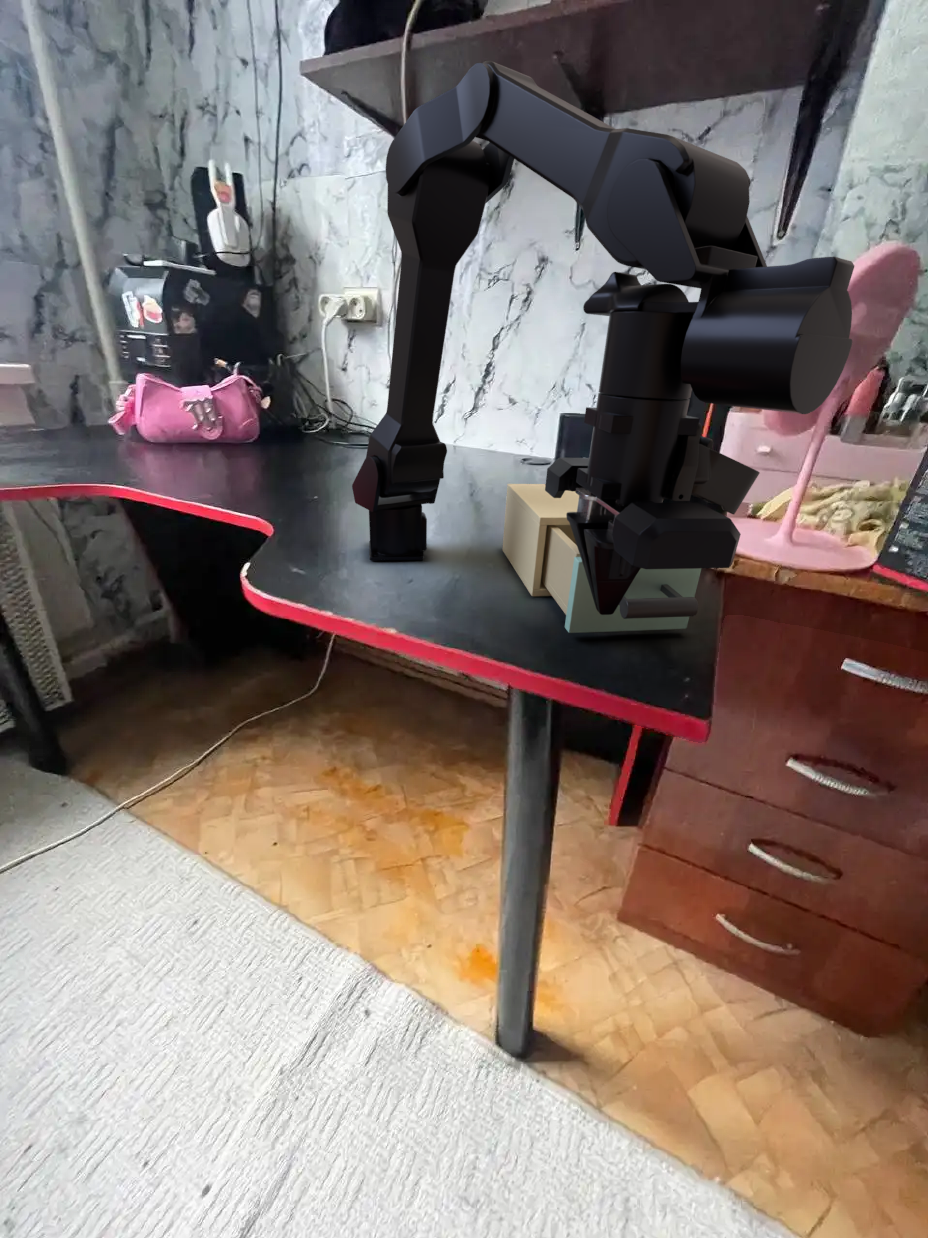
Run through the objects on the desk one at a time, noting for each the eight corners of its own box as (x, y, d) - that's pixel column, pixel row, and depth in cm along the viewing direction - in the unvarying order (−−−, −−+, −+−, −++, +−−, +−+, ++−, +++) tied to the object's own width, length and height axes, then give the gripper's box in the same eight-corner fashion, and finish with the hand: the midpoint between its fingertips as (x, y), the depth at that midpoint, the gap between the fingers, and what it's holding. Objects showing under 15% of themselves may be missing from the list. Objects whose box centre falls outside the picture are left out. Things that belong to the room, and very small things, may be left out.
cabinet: (643, 593, 60) (658, 517, 56) (531, 596, 58) (540, 517, 54) (594, 549, 73) (604, 484, 69) (502, 550, 71) (507, 483, 67)
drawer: (715, 655, 46) (736, 580, 43) (587, 661, 44) (600, 584, 41) (626, 574, 62) (637, 516, 59) (529, 576, 61) (535, 516, 58)
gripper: (868, 417, 28) (777, 673, 35) (685, 388, 45) (648, 567, 52) (668, 411, 27) (614, 681, 34) (554, 383, 43) (534, 569, 50)
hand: (604, 612), depth 42 cm, fingers closed
